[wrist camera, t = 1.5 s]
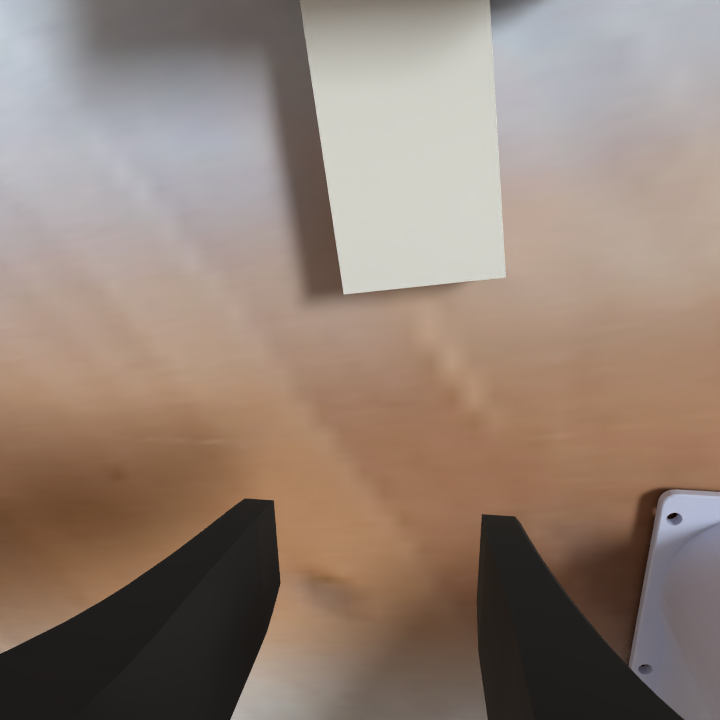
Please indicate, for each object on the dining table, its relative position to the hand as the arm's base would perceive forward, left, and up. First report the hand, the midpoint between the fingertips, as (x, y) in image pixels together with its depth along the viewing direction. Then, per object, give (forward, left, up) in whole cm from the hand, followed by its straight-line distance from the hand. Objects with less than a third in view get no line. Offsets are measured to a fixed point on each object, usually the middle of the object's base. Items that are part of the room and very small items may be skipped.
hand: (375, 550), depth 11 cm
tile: (+8, 0, -10) cm, 13 cm away
